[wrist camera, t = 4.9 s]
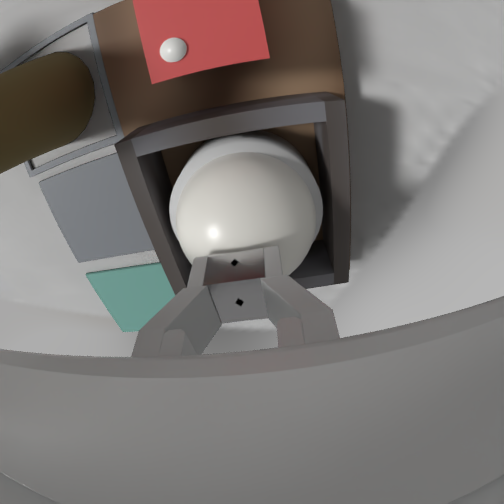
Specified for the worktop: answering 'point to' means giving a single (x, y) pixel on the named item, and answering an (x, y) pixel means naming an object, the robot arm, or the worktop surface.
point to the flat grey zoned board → (103, 215)
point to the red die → (199, 35)
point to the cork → (43, 106)
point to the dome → (246, 199)
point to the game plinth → (236, 123)
